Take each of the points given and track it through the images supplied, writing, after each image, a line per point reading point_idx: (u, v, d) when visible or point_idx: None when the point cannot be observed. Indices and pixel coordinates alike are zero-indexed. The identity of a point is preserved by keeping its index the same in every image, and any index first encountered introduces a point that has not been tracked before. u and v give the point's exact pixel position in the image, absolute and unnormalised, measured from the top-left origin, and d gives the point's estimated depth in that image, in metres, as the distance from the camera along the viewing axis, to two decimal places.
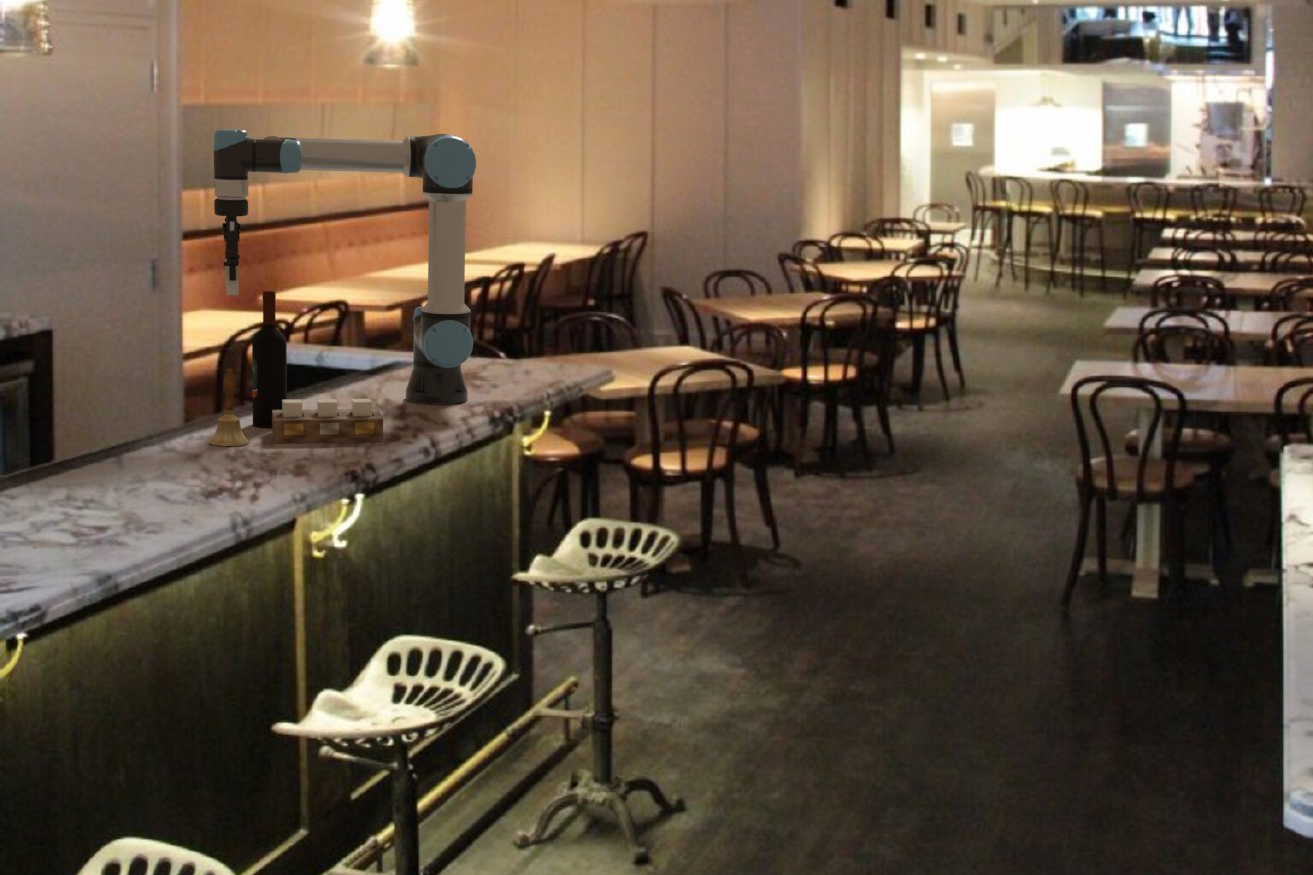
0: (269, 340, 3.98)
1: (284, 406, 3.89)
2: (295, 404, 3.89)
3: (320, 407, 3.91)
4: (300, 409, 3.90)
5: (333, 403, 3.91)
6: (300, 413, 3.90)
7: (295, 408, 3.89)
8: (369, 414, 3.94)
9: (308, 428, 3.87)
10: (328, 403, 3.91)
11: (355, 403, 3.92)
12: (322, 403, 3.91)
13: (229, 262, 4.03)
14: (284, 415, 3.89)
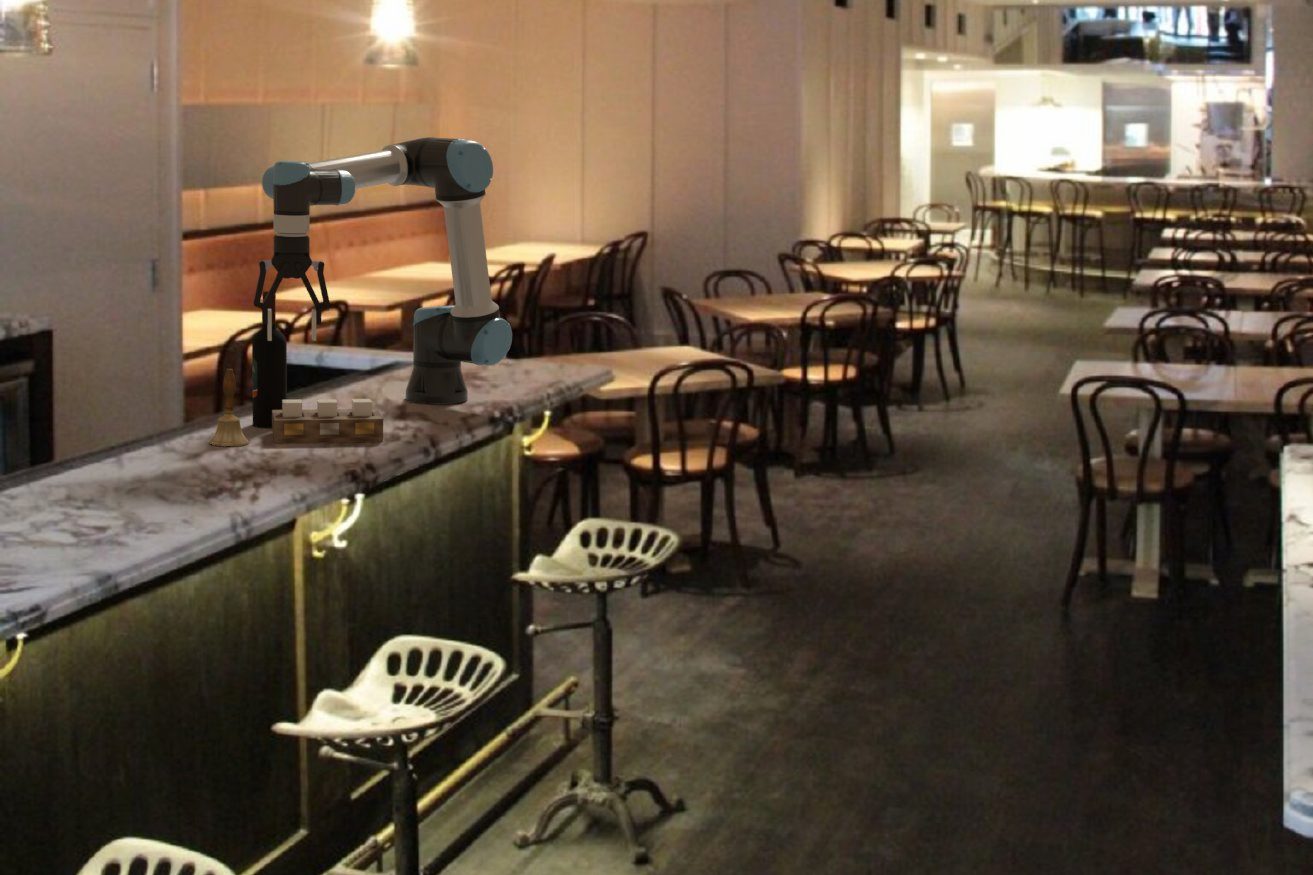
0: None
1: (284, 406, 3.89)
2: (295, 404, 3.89)
3: (320, 407, 3.91)
4: (300, 409, 3.90)
5: (333, 403, 3.91)
6: (300, 413, 3.90)
7: (295, 408, 3.89)
8: (369, 414, 3.94)
9: (308, 428, 3.87)
10: (328, 403, 3.91)
11: (355, 403, 3.92)
12: (322, 403, 3.91)
13: (253, 303, 3.85)
14: (284, 415, 3.89)
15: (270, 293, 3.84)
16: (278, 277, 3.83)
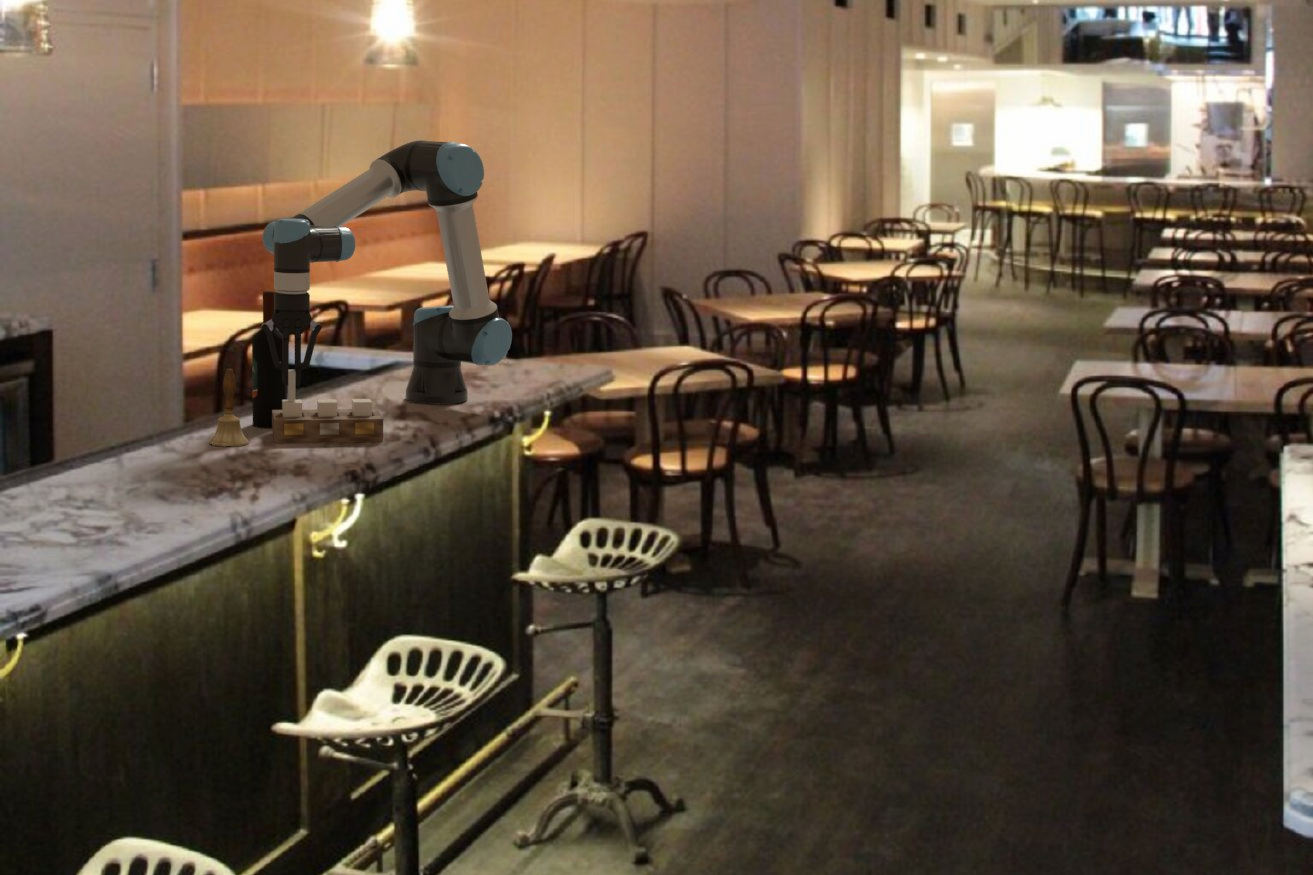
0: None
1: (284, 406, 3.89)
2: (295, 404, 3.89)
3: (320, 407, 3.91)
4: (300, 409, 3.90)
5: (333, 403, 3.91)
6: (300, 413, 3.90)
7: (295, 408, 3.89)
8: (369, 414, 3.94)
9: (308, 428, 3.87)
10: (328, 403, 3.91)
11: (355, 403, 3.92)
12: (322, 403, 3.91)
13: None
14: (284, 415, 3.89)
15: (284, 353, 3.87)
16: (284, 336, 3.86)
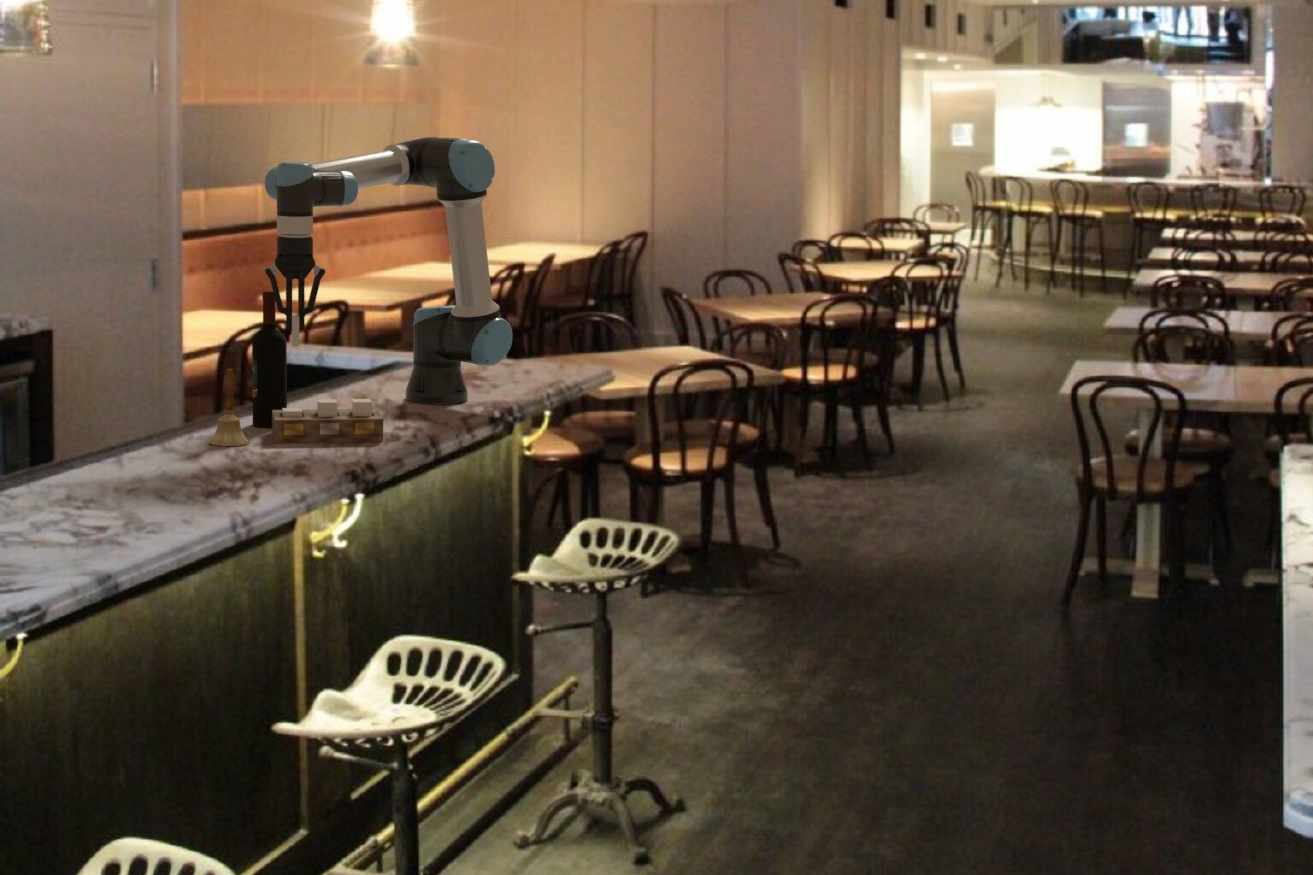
0: (269, 340, 3.98)
1: (284, 415, 3.89)
2: (295, 413, 3.89)
3: (320, 407, 3.91)
4: None
5: (333, 403, 3.91)
6: None
7: (295, 416, 3.90)
8: (369, 414, 3.94)
9: (308, 428, 3.87)
10: (328, 403, 3.91)
11: (355, 403, 3.92)
12: (322, 403, 3.91)
13: (278, 309, 3.87)
14: None
15: (288, 298, 3.85)
16: (287, 280, 3.84)
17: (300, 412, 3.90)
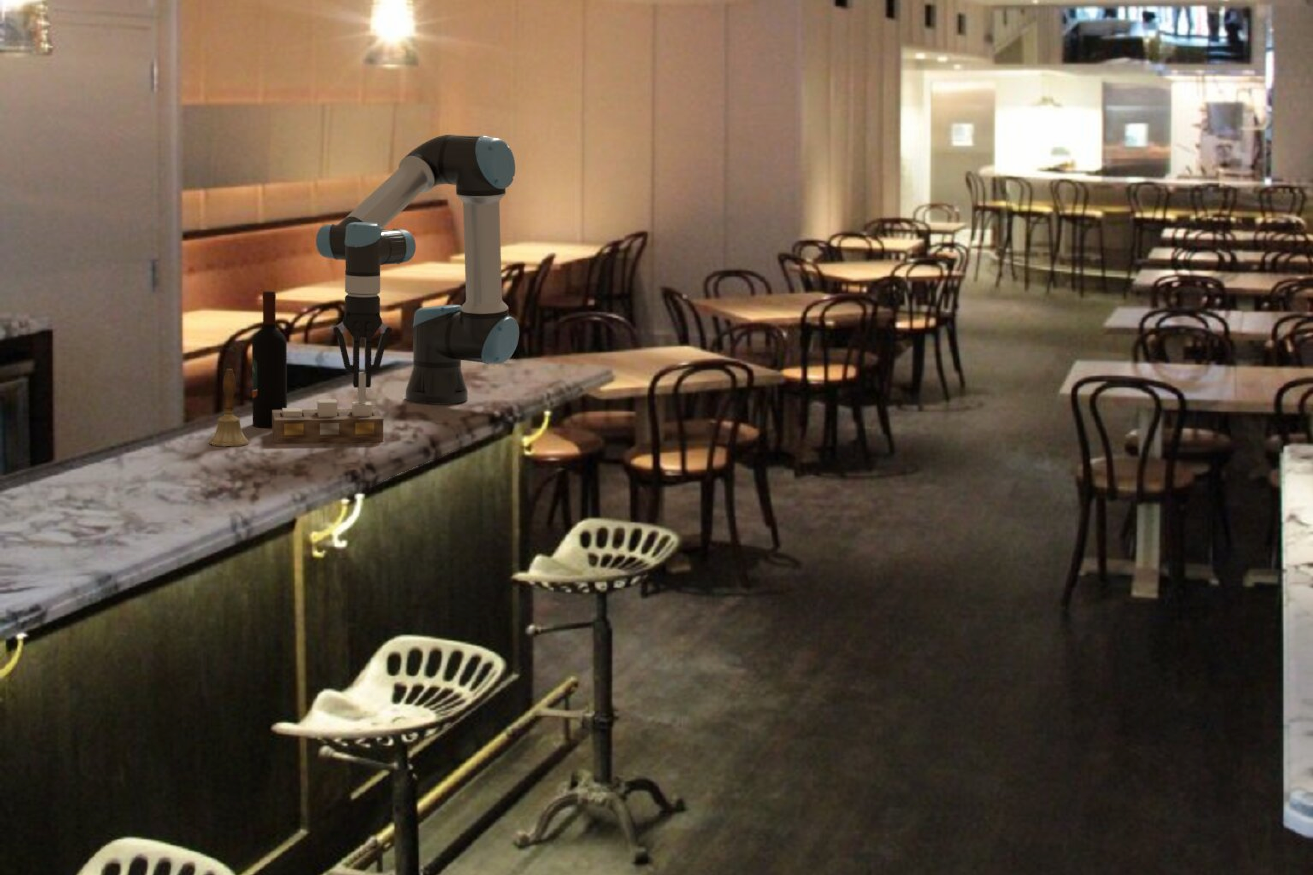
0: (269, 340, 3.98)
1: (284, 415, 3.89)
2: (295, 413, 3.89)
3: (320, 407, 3.91)
4: None
5: (333, 403, 3.91)
6: None
7: (295, 416, 3.90)
8: None
9: (308, 428, 3.87)
10: (328, 403, 3.91)
11: (355, 406, 3.92)
12: (322, 403, 3.91)
13: None
14: None
15: (355, 356, 3.91)
16: (355, 338, 3.90)
17: (300, 412, 3.90)
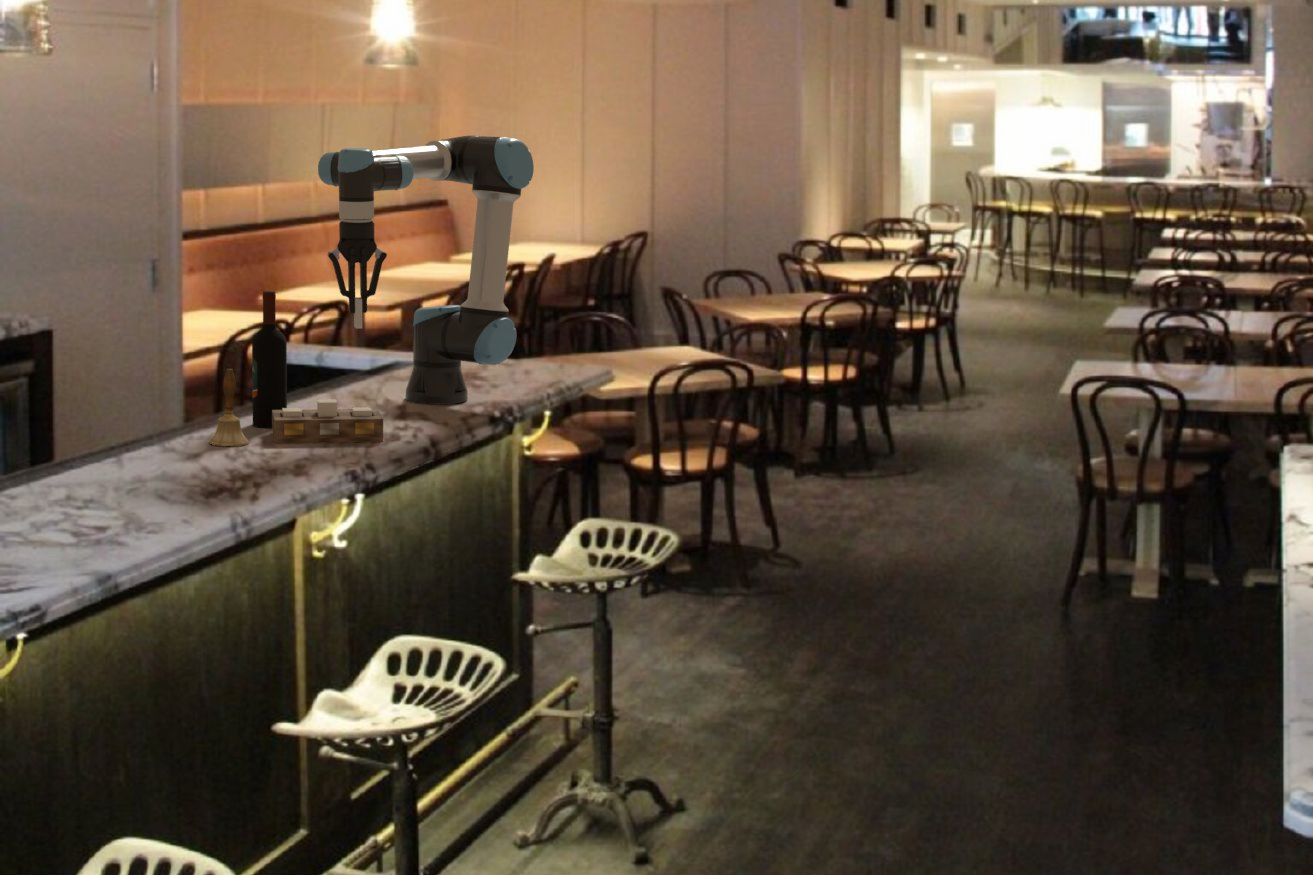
0: (269, 340, 3.98)
1: (284, 415, 3.89)
2: (295, 413, 3.89)
3: (320, 407, 3.91)
4: None
5: (333, 403, 3.91)
6: None
7: (295, 416, 3.90)
8: None
9: (308, 428, 3.87)
10: (328, 403, 3.91)
11: (355, 412, 3.93)
12: (322, 403, 3.91)
13: None
14: None
15: (351, 281, 3.94)
16: (351, 264, 3.93)
17: (300, 412, 3.90)
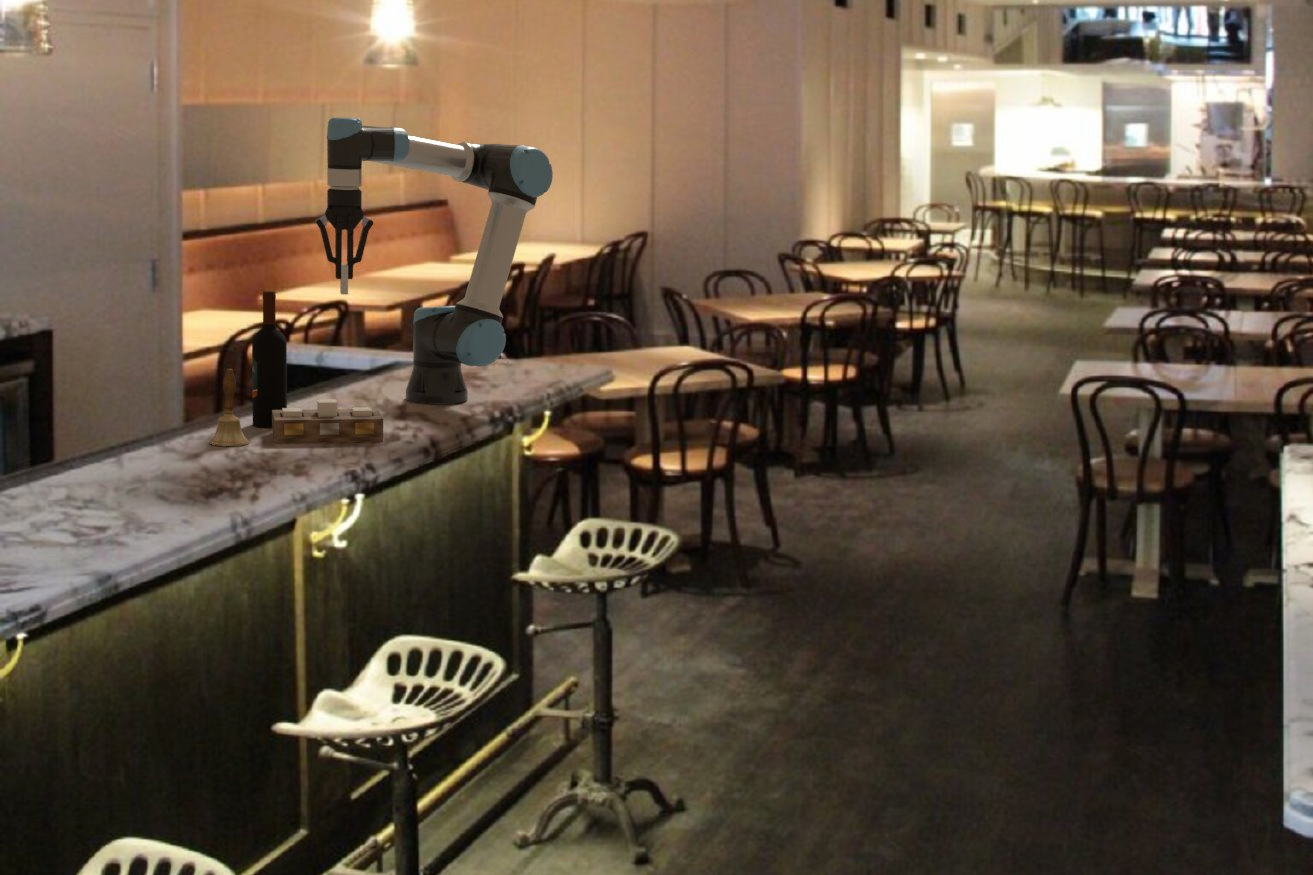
0: (269, 340, 3.98)
1: (284, 415, 3.89)
2: (295, 413, 3.89)
3: (320, 407, 3.91)
4: None
5: (333, 403, 3.91)
6: None
7: (295, 416, 3.90)
8: None
9: (308, 428, 3.87)
10: (328, 403, 3.91)
11: (355, 412, 3.93)
12: (322, 403, 3.91)
13: None
14: None
15: (337, 248, 4.02)
16: (337, 231, 4.01)
17: (300, 412, 3.90)
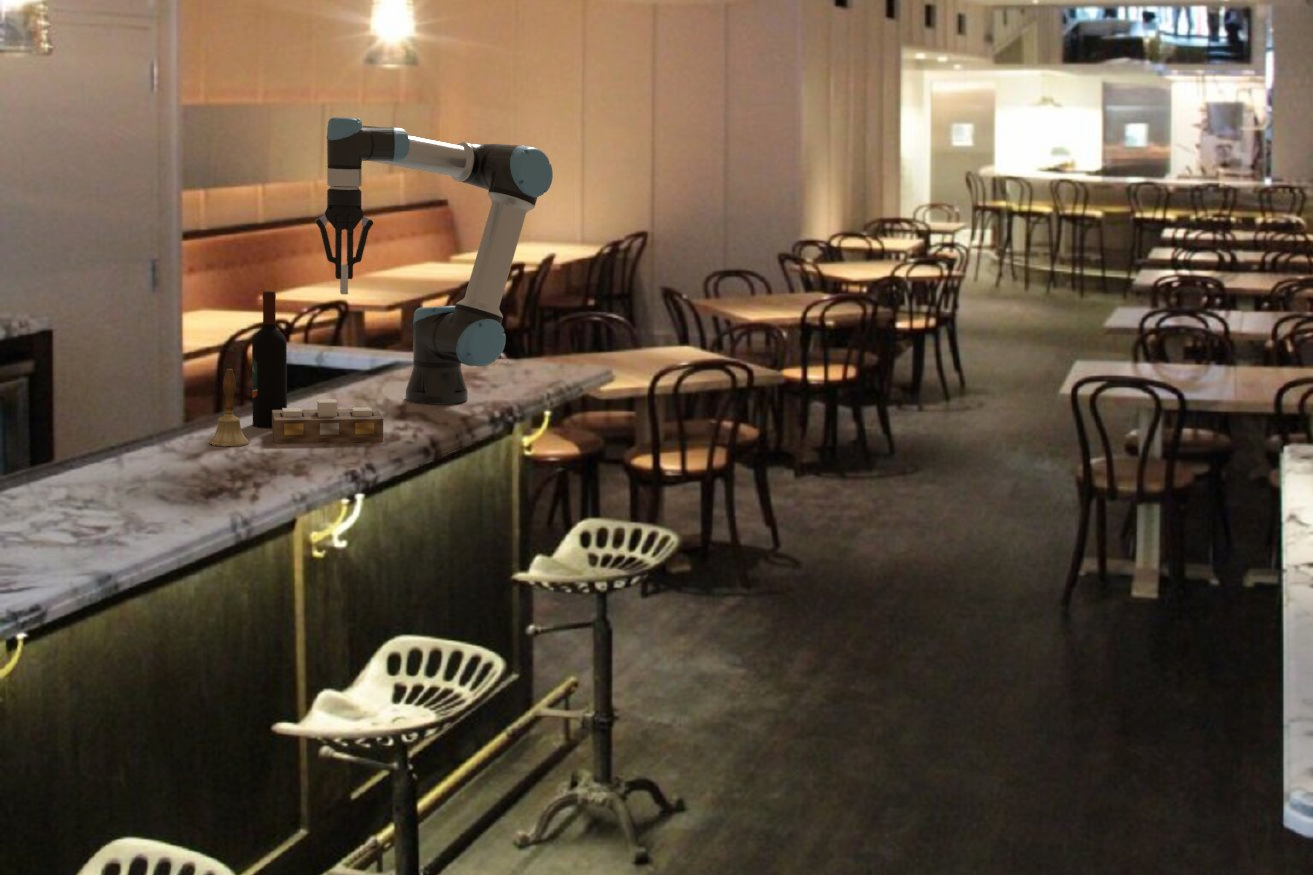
0: (269, 340, 3.98)
1: (284, 415, 3.89)
2: (295, 413, 3.89)
3: (320, 407, 3.91)
4: None
5: (333, 403, 3.91)
6: None
7: (295, 416, 3.90)
8: None
9: (308, 428, 3.87)
10: (328, 403, 3.91)
11: (355, 412, 3.93)
12: (322, 403, 3.91)
13: None
14: None
15: (337, 248, 4.02)
16: (337, 231, 4.01)
17: (300, 412, 3.90)
